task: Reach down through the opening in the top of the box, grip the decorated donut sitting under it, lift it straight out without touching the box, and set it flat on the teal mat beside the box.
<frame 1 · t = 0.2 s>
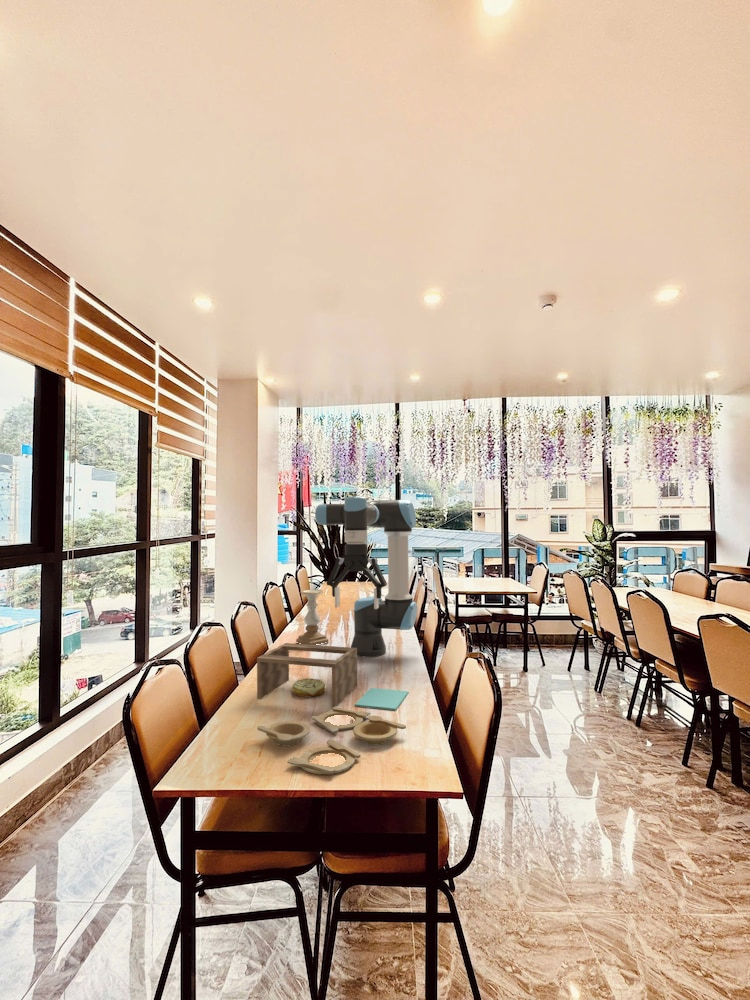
hand: (356, 607, 172), 28 cm above the table, tool pointing down, fingers open, 13 cm apart
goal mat: (382, 699, 165), on the table
tableware set: (333, 742, 136), on the table
candle holder: (312, 643, 240), on the table
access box: (308, 692, 173), on the table
decorated donut: (308, 693, 173), on the table
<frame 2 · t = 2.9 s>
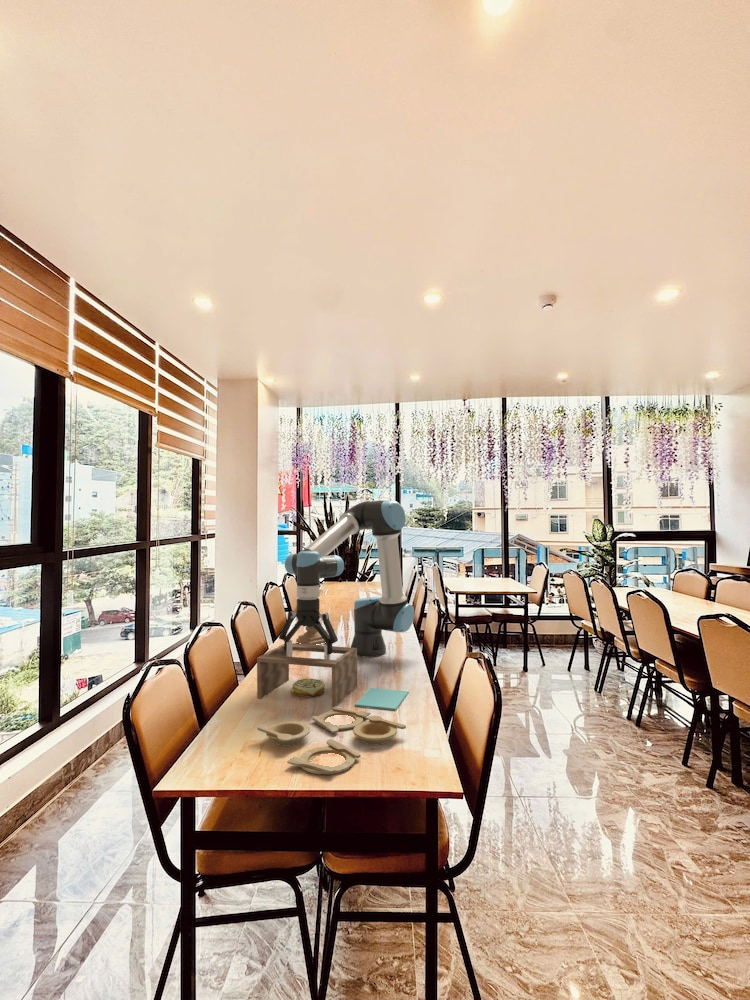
hand: (308, 662, 173), 10 cm above the table, tool pointing down, fingers open, 13 cm apart
nothing on the table moved.
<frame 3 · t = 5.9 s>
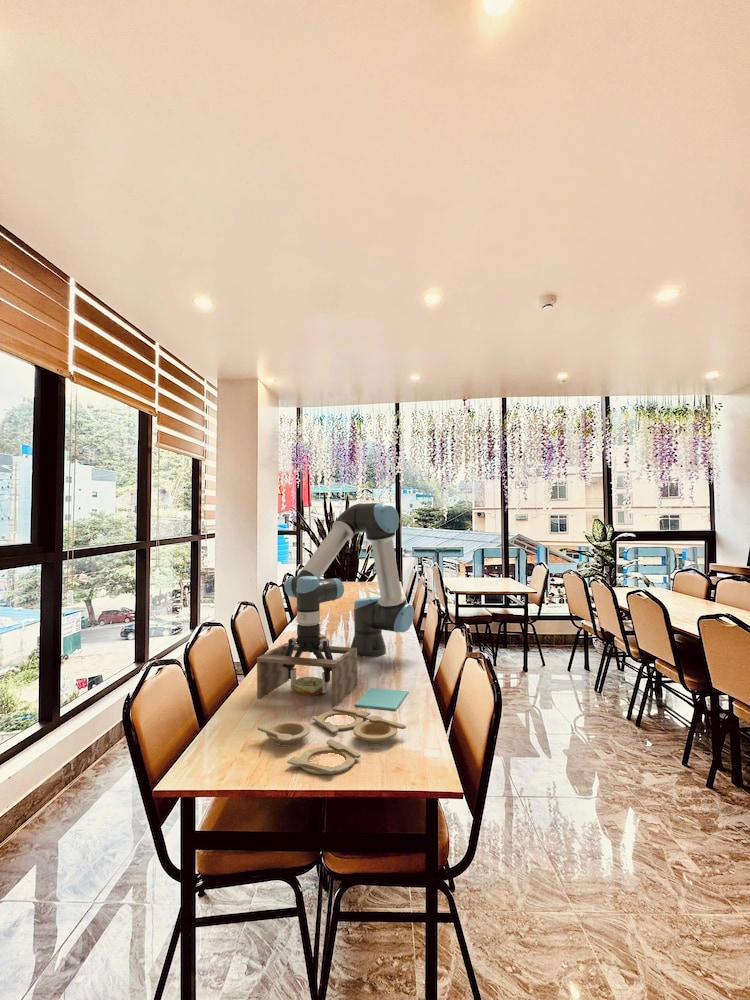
hand: (309, 690, 173), 1 cm above the table, tool pointing down, fingers closed on decorated donut, 11 cm apart
decorated donut: (309, 691, 173), on the table, touching gripper
everything else where it was.
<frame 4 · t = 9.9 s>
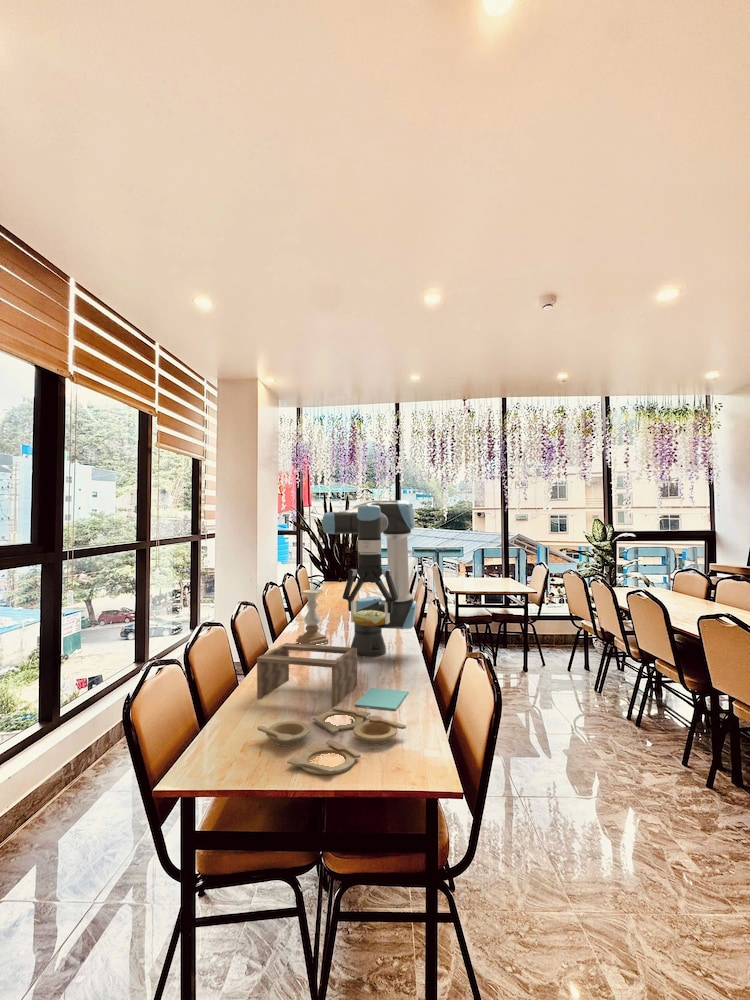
hand: (370, 622, 167), 24 cm above the table, tool pointing down, fingers closed on decorated donut, 11 cm apart
decorated donut: (370, 624, 167), point 24 cm above the table, touching gripper
everything else where it was.
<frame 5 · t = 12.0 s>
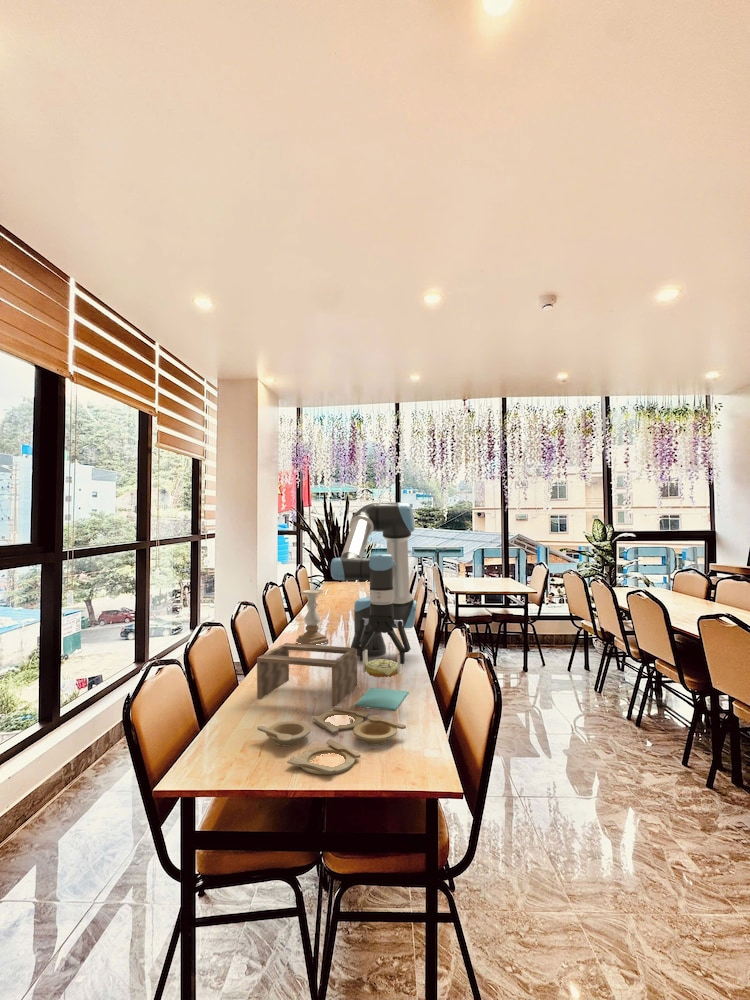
hand: (382, 672, 165), 8 cm above the table, tool pointing down, fingers closed on decorated donut, 11 cm apart
decorated donut: (382, 674, 165), point 8 cm above the table, touching gripper
everything else where it was.
when the fingers open (2 cm above the table, at t = 14.0 s): decorated donut stays where it is, resting on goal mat.
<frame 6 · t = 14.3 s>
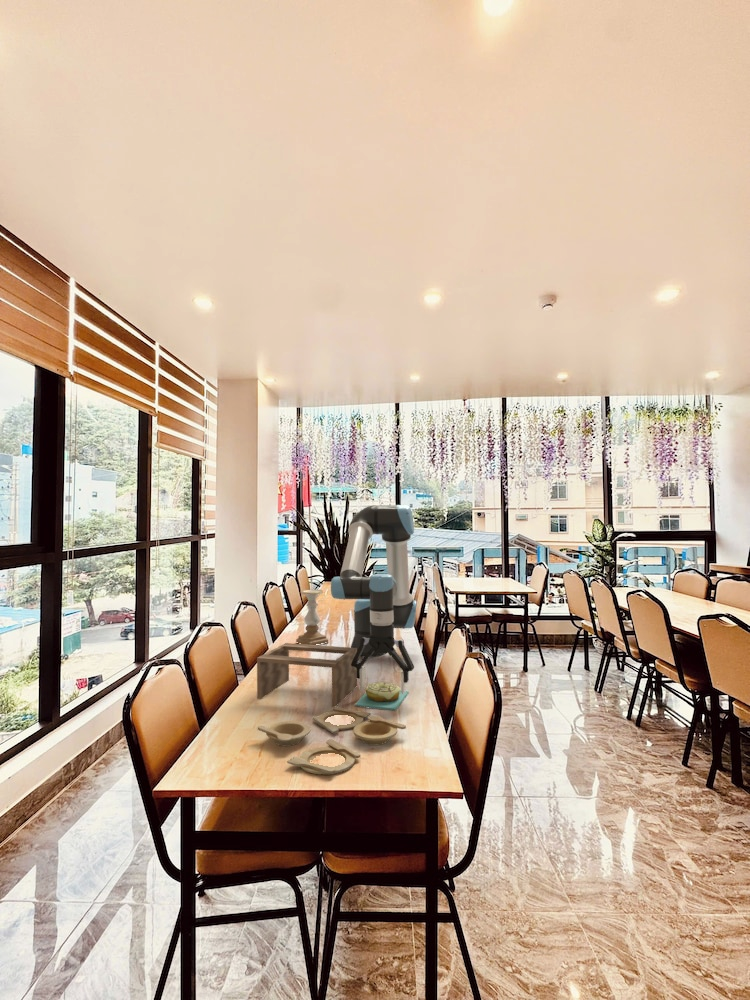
hand: (382, 690, 165), 3 cm above the table, tool pointing down, fingers open, 13 cm apart
decorated donut: (382, 698, 165), resting on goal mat
everything else where it was.
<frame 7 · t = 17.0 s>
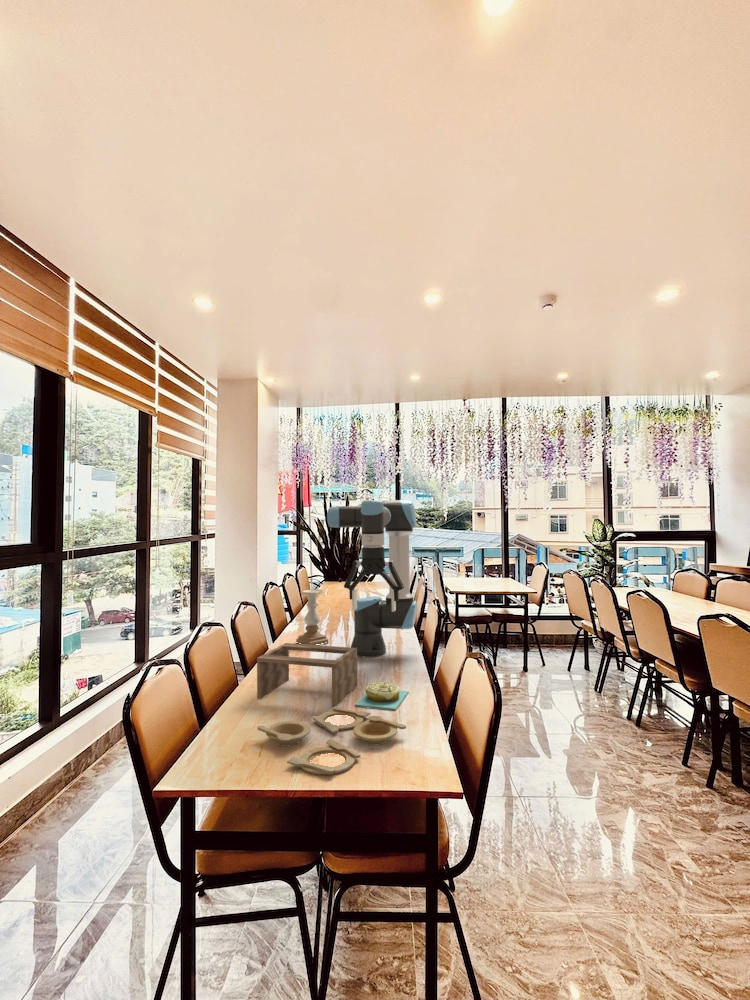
hand: (374, 610, 174), 27 cm above the table, tool pointing down, fingers open, 13 cm apart
nothing on the table moved.
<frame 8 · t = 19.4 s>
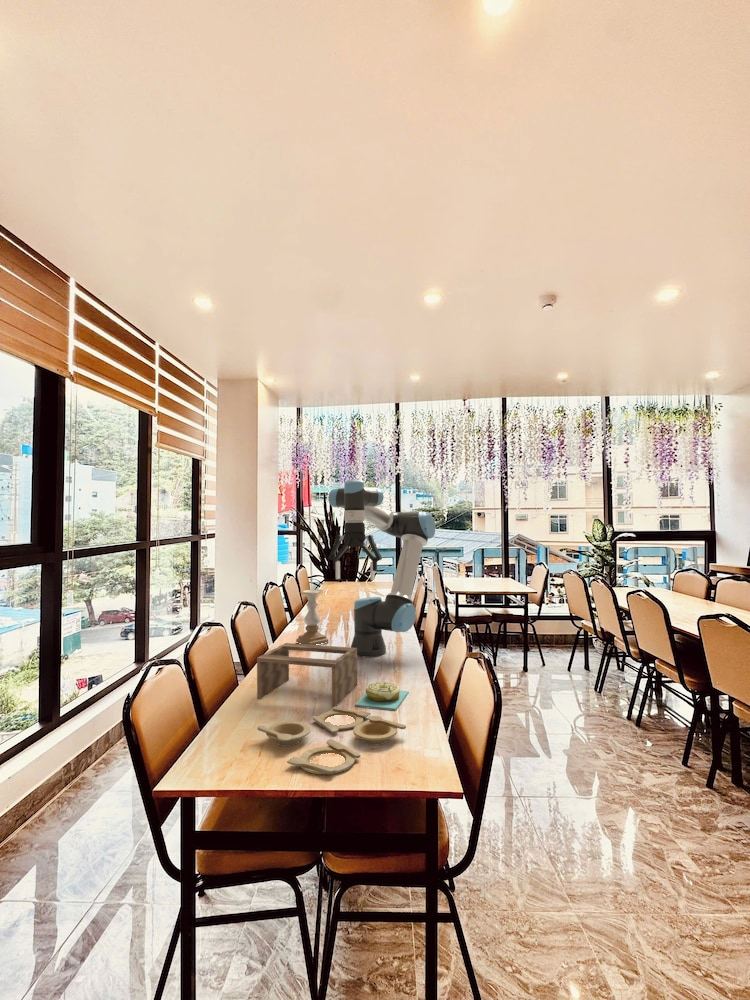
hand: (355, 579, 193), 35 cm above the table, tool pointing down, fingers open, 13 cm apart
nothing on the table moved.
at the end: decorated donut inside the target area on the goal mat (0.2 cm from its centre), point 0.4 cm above the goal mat's base; decorated donut resting on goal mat; the gripper is holding nothing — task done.
